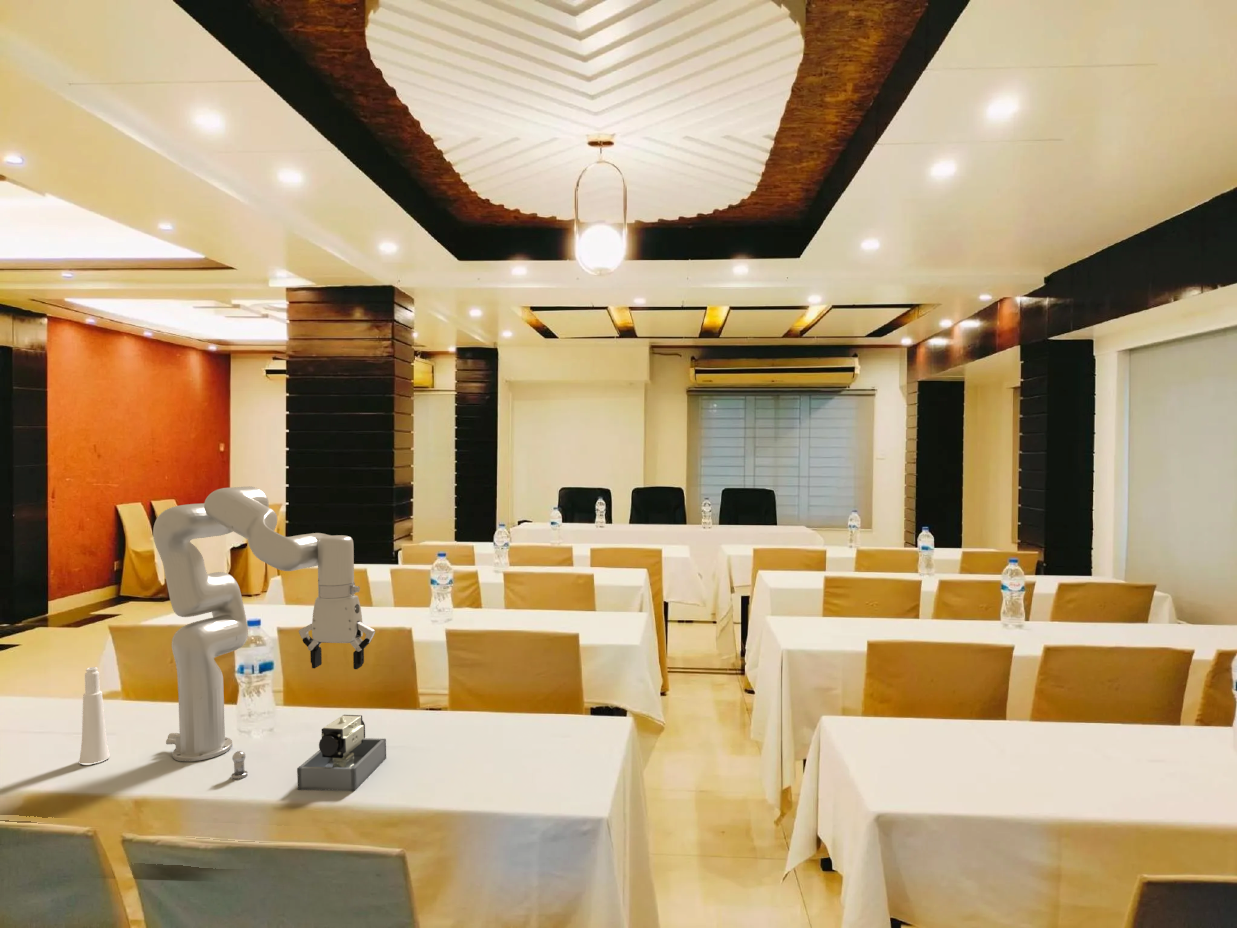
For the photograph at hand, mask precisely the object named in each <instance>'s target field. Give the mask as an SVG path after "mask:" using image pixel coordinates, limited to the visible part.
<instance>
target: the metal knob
mask: <svg viewBox="0 0 1237 928" xmlns="http://www.w3.org/2000/svg"><path fill="white" fill-rule="evenodd" d="M245 760H246V753H245V752H244V751H243V750H239V751H238V750H237V751H235V753H233V755H232V761H233V769H234V772H233V773H232V774H231V775H230V776H231V777H230V778H231V779H232V780H234V781H236V780H242V779H244V778H246V777H248V773H249V772H248V771H247V770H245Z"/></svg>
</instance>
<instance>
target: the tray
mask: <svg viewBox="0 0 1237 928" xmlns="http://www.w3.org/2000/svg"><path fill="white" fill-rule="evenodd" d="M349 753H354V762H353V764H354V766H353V767H352V768H349V767H332V766H333V761H332V759H333V758H328V757H322V752H321V751H320V749H319V750H318V751H316V752H315V753H314V754H312V755H311V756H310V757H309V758H308V759H307V760H305V761H304V762H303V763H302V764H301V765H300V766H298V767H297V769H296V770H297V771H296V773H297V774H296V775H297V790H298V791H300V790H301V791H302V790H303V791H340V792H341V791H344V792H345V791H346V792H348V791H350V792H355V791H356V790H357V789H358V788H359V787H360V786H362V784H363V783H364V782H365V781H366V780H368V779H369V777H370V776H371V774H373V773H374V771H376V769H377V768H379V766H380V765H382V763H383V762H385V760H386V759H387V739H386V738H374V737H373V738H372V737H371V738H366V737H365V738H364V739H363V742H362V743H361V744H360V745H358V746H357V747H356V748H355V749H353V750H352V751H351V752H349Z"/></svg>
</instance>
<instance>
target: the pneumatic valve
mask: <svg viewBox="0 0 1237 928" xmlns="http://www.w3.org/2000/svg"><path fill="white" fill-rule="evenodd" d="M320 736H321V739H320V740H319V742H318V748H319V750H320V751H321V752H322V757H328V758H333V759H332V761H333V766H332V767H349V768H352V767H353V766H354V764H353V762H354V753H349V752H351V751H352V750H353V749H355V748H356V747H357V746H358V745H360V744H361V743H362V742H363V739H364V738H366V723H365V722H364V720H363V715H361V714H360V715H358V714H357V715H356V714H342V715H341V716H339V717H338V718H336V719H334V720H333V721H332V722H330V723H329V724H327V725H326V726H324V727H323V728H321V735H320Z"/></svg>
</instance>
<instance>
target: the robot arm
mask: <svg viewBox="0 0 1237 928" xmlns="http://www.w3.org/2000/svg"><path fill="white" fill-rule="evenodd" d="M269 506H270V504H269V498H268V496H267V495H266V494H265V493H264V491H263V490H262V489H260V488H258V487H255V486H236V487H234V486H233V487H222V488H217V489H215V490H214V491H212V492H211V493H209V494H208V496H207V497H206V498H205V500H204V502H203V503H190V504H189V503H187V504H180V505H175V506H172V507H169V508H167V509H165V510H163V511H162V512H161V513H160V514H159V515H158V516H157V517H156V519H155V522H154V523H153V524H154V525H153V530H152V535H153V537H152V538H153V542H154V544H155V548H156V550H157V552H158V555H159V558H160V560H161V562H162V565H163V570H164V577H165V581H166V586H167V591H168V596H169V601H170V604H171V609H172V611H173V612H174V613H175V615H176V616H178V617H180V618H190V617H196V616H200V615H204V614H209V613H211V615H212V617H208V618H204V619H202V620H198V621H193V622H190V623H187V624H185V625H184V626H182V627H179V628H178V630H176V632H175V633H174V634H173V636H172V638H171V649H172V651H171V652H172V655H173V659H174V662H175V667H176V673H177V692H178V693H177V694H178V695H177V696H178V720H179V721H178V722H179V723H178V728H179V730H178V731H179V733H178V732H169V734H168V735H167V738H166V740H165V744H166V745H175V749H173V751H172V759H173V760H175V761H179V762H199V761H203V760H208V759H209V760H210V759H212V758H215V757H218V756H221V755H222V754H225V753H226V752H227V753H228V751H229V750H231V749H232V747H233V740H232V739H231V738H229V737H226V734H225V733H226V731H225V730H226V729H225V697H224V691H225V690H224V676H223V675H224V674H223V672H222V669H221V668H220V667H219V665H218V663H217V662H216V660H215V658H217V657H219V656H222V655H225V654H228V653H231V652H234V651H237V650H239V649H241V648H242V647H243V646H244V645H245V644H246V642H247V640H248V635H249V627H248V621H247V617H246V616H247V615H246V612H245V607H244V602H243V596H242V593H241V589H240V586H239V584H238V582H237V580H236V578H234V576H233V575H231V574H229V573H227V572H224V571H218V572H210V573H208V571H207V569H206V566H205V559H204V557H203V554H202V553H201V551H200V550H199V549H198V548H197V546H196V545H194V544H193V543H192V542H191V541H192V540H196V539H197V540H198V539H206V538H211V537H212V538H213V537H219V536H220V537H221V536H224V535H228V534H230V533H236V534H237V535H239V536H241V537H242V538H244V539H247V544H248V546H249V549H250V550H251V552H252V554H253V555H254V556H255V557H256V558H257V559H258V560H260V561H261V562H263V563H265V564H267V565H269V566H270V567H272V568H274V569H276V570H280V571H284V572H293V571H298V570H302V569H307V568H312V567H313V568H314V567H317V587H318V588H317V591H318V593H317V595H318V596H317V597H316V598H315V601H314V605H313V612H312V620H311V621H312V622H311V623H310V624H308V625H306V626H304V627H303V628H301V629H299V630H298V633H299V635H300V638H301V639H302V643H303V644H305V646H306V647H307V650H308V651H310V656H309V657H310V664H311V669H316V668H318V667H319V666H321V665H322V663H323V662H322V660H323V658H322V647H321V644H324V643H327V644H328V643H331V644H334V643H335V644H350V645H351V646H352V647H353V649H355V651H353V655H352V656H353V657H352V658H353V663H352V664H353V667H352V668H353V670H358V669H359V668H361V667H362V666H363V664H364V662H365V649H366V647H367V646H368V645H370V643H371V642H372V639H373V638H374V636H375V633H376V630H375V629H374V628H372V627H370V626H368V625H366V624H364V623H363V615H362V608H361V603H360V599H359V595H356V593H360V591H361V588H360V585H359V586H358V585H356V582H355V563H354V562H355V561H354V558H355V555H354V554H355V553H354V550H355V548H354V540H353V538H352V537H351V536H348V535H342V534H341V535H338V534H336V535H331V534H326V533H321V532H315V533H314V532H312V533H306V534H298V535H297V534H296V535H293V536H291V535H290V536H285V535H283V534H280V533H278V532H276V531H275V529H276V527H277V524H278V515H277V513H276V512H275V510H274V509H273V508H271V507H269ZM310 631H311V635H310V634H309V632H310ZM363 633H364V634H365V637H364V639H362V638H361V637H363Z"/></svg>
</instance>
